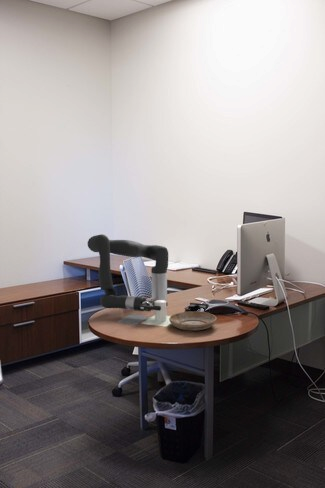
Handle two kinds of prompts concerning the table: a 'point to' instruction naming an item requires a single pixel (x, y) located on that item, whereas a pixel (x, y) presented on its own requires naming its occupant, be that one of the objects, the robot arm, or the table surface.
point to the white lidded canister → (161, 311)
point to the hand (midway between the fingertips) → (163, 306)
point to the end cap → (197, 307)
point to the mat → (133, 319)
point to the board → (152, 322)
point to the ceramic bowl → (193, 320)
